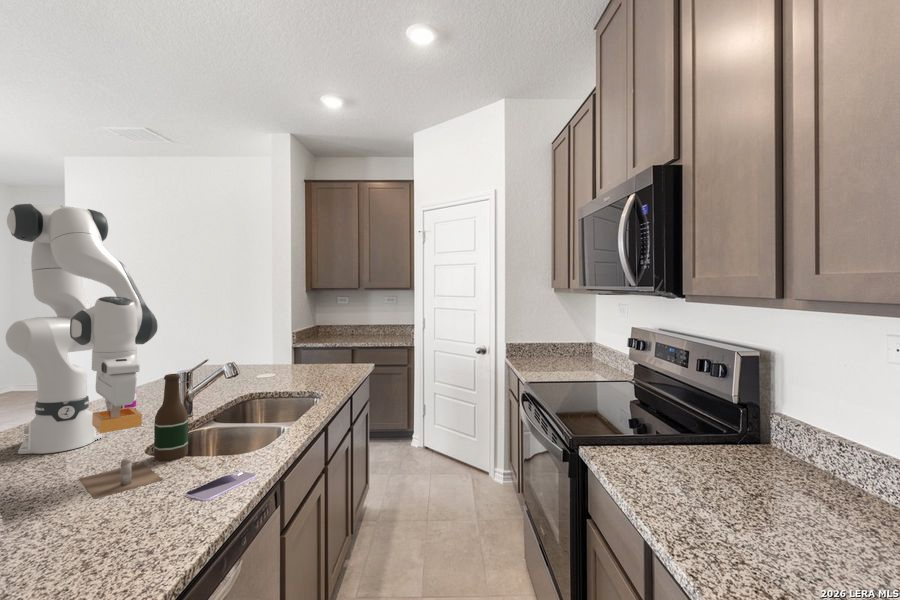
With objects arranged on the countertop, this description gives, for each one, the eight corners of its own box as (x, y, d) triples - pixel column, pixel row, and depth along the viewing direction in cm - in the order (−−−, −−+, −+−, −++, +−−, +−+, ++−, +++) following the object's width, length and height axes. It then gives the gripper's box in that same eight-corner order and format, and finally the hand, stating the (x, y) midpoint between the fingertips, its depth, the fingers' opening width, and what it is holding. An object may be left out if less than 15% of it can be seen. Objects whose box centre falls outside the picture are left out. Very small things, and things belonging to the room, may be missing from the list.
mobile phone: (182, 493, 98) (236, 468, 112) (182, 497, 98) (236, 472, 112) (206, 499, 95) (259, 473, 109) (206, 503, 95) (259, 477, 109)
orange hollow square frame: (92, 424, 104) (92, 412, 104) (131, 418, 110) (132, 406, 110) (100, 433, 99) (100, 420, 99) (141, 426, 105) (141, 414, 105)
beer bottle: (171, 468, 113) (172, 377, 113) (146, 465, 114) (147, 376, 114) (194, 457, 121) (195, 372, 120) (171, 455, 122) (172, 371, 122)
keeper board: (78, 484, 102) (78, 453, 102) (143, 468, 112) (143, 440, 112) (94, 505, 92) (94, 471, 92) (163, 486, 102) (164, 454, 102)
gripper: (88, 357, 111) (87, 410, 111) (109, 368, 98) (107, 428, 98) (118, 355, 116) (117, 406, 116) (142, 365, 103) (140, 422, 103)
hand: (113, 416), depth 107 cm, fingers closed on orange hollow square frame
